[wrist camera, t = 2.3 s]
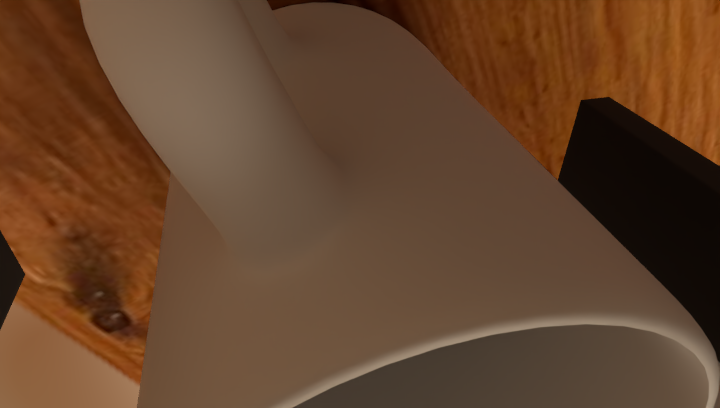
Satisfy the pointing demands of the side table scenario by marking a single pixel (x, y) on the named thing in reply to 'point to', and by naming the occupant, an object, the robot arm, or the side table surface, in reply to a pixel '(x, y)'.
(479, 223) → the mug
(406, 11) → the side table surface
